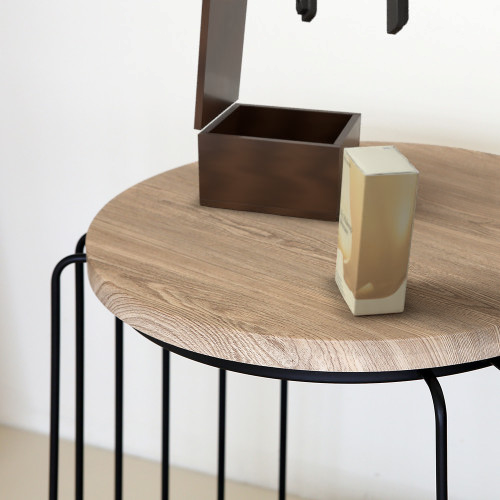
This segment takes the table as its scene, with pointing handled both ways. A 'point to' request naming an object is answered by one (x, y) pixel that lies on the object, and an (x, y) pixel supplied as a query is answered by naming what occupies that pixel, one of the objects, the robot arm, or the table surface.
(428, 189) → the table surface
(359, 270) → the cosmetic box
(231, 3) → the lid
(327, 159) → the chest
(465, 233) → the table surface
